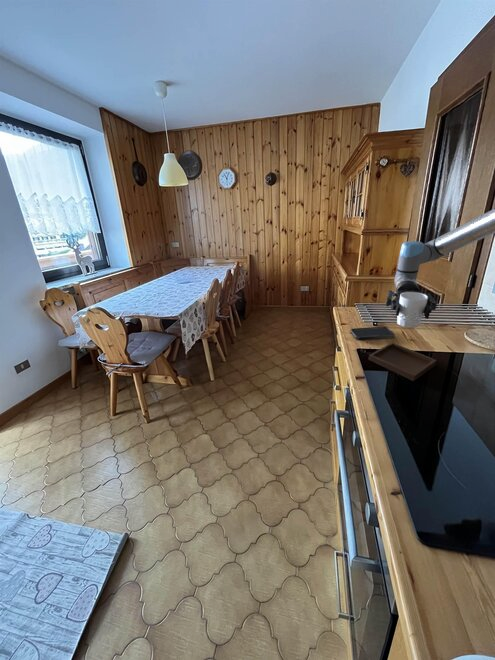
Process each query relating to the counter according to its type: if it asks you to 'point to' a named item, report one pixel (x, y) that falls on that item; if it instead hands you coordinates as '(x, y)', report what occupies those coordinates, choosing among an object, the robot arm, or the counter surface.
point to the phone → (372, 333)
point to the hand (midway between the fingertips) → (412, 313)
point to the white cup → (411, 309)
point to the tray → (402, 361)
